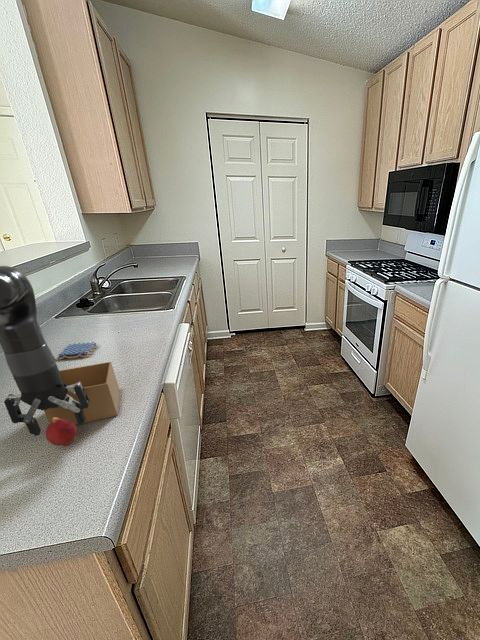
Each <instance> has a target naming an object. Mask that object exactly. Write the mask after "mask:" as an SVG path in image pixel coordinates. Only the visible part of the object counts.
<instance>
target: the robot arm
mask: <svg viewBox="0 0 480 640" xmlns="http://www.w3.org/2000/svg"><path fill="white" fill-rule="evenodd" d="M34 291H35V290H34V288H33V286H32V283H31V282H30V280H29V279H28V277H27V276H26V275H25V274H24V273H23V272H22V270H19V269H18V268H16V267H14V266H11V265H10V266H9V265H0V348H1V350H2V352H3V355H4V358H5V362H6V365H7V367H8V369H9V371H10V373H11V375H12V378H13V380H14V382H15V384H16V386H17V388H18V390H19V392H20V394H17V395H15V394H14V393H9V394H8V395H7V396H6V397H5V399H4V401H3V403H4V405H5V408H6V410H7V412H8V416H9V419H10V420H11V422H12V424H19V423H23V424H24V425H25V426H26V427H27V430H28V432H29V434H31V435H34V437H37V436H40V434H41V432H42V430H41V427H40V425H39V422H38V420H37V418H36V417H34V415H35V414H36V411H37V410H40V411H41V412H42V411H44V410H46V409H49V408H57V407H59V406H62V407H64V408H65V409H70V410H72V411H74V415H75V417H76V420H77V423H78V424H77V425H78V426H79V427H81V426H84V424H86V423H85V418H86V417H85V414H84V412H83V409H84V408H88V406H89V402H90V400H89V398H88V395H87V393H86V391H85V389H84V387H83V384H82V382H80V381H77V382H76V384H73V385H68V386H67V385H66V384H64V382H63V380H62V377H61V375H60V372H59V371H60V370H59V367H58V365H57V361H56V358H55V356H54V354H53V352H52V350H51V347H49V345H48V343H47V341H46V339H45V336H44V332H43V331H42V328H41V326H40V324H39V320H38V309H37V303H36V302H37V301H36V296H35V292H34ZM68 391H71V392H72V393H73V394H76V395H77V397H78V399H79V401H80V403H79V402H78V401H76V400H74V399H73V398H72V397H71V396H69V395H67V393H68ZM64 400H65V401H64ZM21 402H23V403H24V404H27V405H28V406H30V407H29V408H28V411H27V413H22V410H21V407H20V403H21Z"/></svg>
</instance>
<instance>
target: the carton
mask: <svg viewBox="0 0 480 640" xmlns="http://www.w3.org/2000/svg"><path fill="white" fill-rule="evenodd" d="M59 372H60V375H61V377H62V380H63V382H64V384H66V385H67V386H68V385H73V384H76V382H77V381H80V382H82V384H83V387H84V389H85V391H86V393H87V395H88V398H89V400H90V402H89V406H88V408H84V409H83V412H84V414H85V417H86V418H85V423H84V424H86V423H90V422H95V421H98V420H103V419H108V418H113V417H117V416H118V414H119V402H120V393H121V392H120V386H119V384H118V381H117V378H116V374H115V371H114V367H113V364H112V361H108V362H101V363H96V364H89V365H84V366H79V367H72V368H67V369H60V370H59ZM67 395H69V396H71V397H72V398H73V399H74V400H76V401H78V402H79V403H80V401H79V399H78V397H77V395H76V394H73V393H72V392H71V391H68V393H67ZM64 401H65V400H64ZM43 412H44V414H45V416H46V418H47V421H48V424H50V423H51V422H53V421H52V419H53V418H60V419H67V420H69V421H71V422H73V423H74V424H75V426H77V425H78V423H77V420H76V417H75V415H74V411H72V410H70V409H65V408H64V407H62V406H59V407H57V408H49V409H46V410H43Z"/></svg>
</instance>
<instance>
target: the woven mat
mask: <svg viewBox="0 0 480 640" xmlns="http://www.w3.org/2000/svg"><path fill="white" fill-rule="evenodd" d="M97 348H98V344H97V342H94V341H92V342H86V343H85V342H82V343H81V342H79V343H73V344H71V343H69V344H68V345H66V346H65V347H64V349H63V350H61V351H60V352H59V353H58V359H59V360H64V359H77V358H80V357H82V358H89V357H90V355H92V354H93V351H95V350H94V349H97Z"/></svg>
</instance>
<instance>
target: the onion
mask: <svg viewBox="0 0 480 640" xmlns="http://www.w3.org/2000/svg"><path fill="white" fill-rule="evenodd" d="M52 421H53V422H51V423H48V426H47V428H46V430H45V437H46V440H47V441H48V443H50V444H52V445H54V446H59V447H60V446H61V447H68V446H70V444H71V443H73V442H74V440H75V439H76V437H77V434H78V429H77V425H75V424H74V423H73V422H71V421H69V420H67V419H60V418H53V419H52Z"/></svg>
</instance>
